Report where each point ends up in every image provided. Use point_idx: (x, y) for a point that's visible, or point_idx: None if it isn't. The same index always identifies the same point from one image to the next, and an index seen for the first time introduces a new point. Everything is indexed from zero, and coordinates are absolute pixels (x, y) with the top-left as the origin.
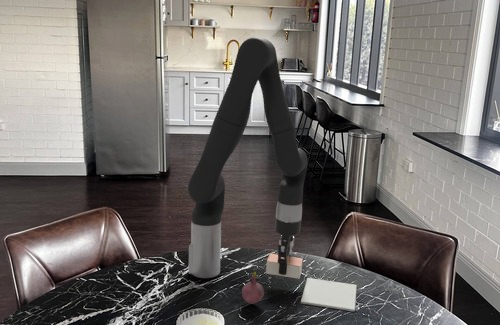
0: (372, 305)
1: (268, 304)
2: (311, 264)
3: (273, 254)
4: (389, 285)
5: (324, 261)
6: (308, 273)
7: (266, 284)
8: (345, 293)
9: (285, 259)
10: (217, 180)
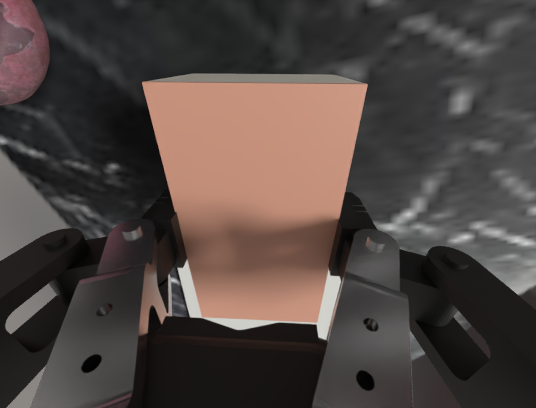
0: None
1: (93, 117)
2: (492, 239)
3: (346, 128)
4: None
5: (512, 275)
6: (405, 234)
7: (268, 69)
8: (268, 323)
9: (29, 327)
10: None
